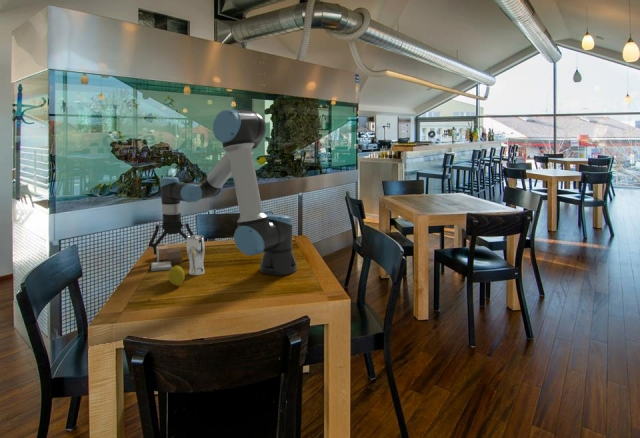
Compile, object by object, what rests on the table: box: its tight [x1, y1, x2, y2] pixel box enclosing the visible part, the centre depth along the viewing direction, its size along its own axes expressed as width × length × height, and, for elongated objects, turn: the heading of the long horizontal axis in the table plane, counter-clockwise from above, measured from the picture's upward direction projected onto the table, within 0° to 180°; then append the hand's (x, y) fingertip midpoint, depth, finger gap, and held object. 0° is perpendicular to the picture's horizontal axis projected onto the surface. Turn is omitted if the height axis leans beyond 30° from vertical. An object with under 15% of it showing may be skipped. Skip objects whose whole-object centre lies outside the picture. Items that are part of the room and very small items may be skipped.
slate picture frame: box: [150, 260, 173, 272], centre depth 179 cm, size 9×8×1 cm
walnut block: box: [166, 247, 183, 264], centre depth 187 cm, size 6×6×5 cm
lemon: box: [168, 265, 186, 287], centre depth 156 cm, size 6×6×8 cm
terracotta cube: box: [157, 245, 169, 261], centre depth 191 cm, size 5×5×5 cm
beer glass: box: [186, 234, 206, 276], centre depth 170 cm, size 7×7×15 cm
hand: (174, 260), depth 188 cm, fingers open, 13 cm apart
